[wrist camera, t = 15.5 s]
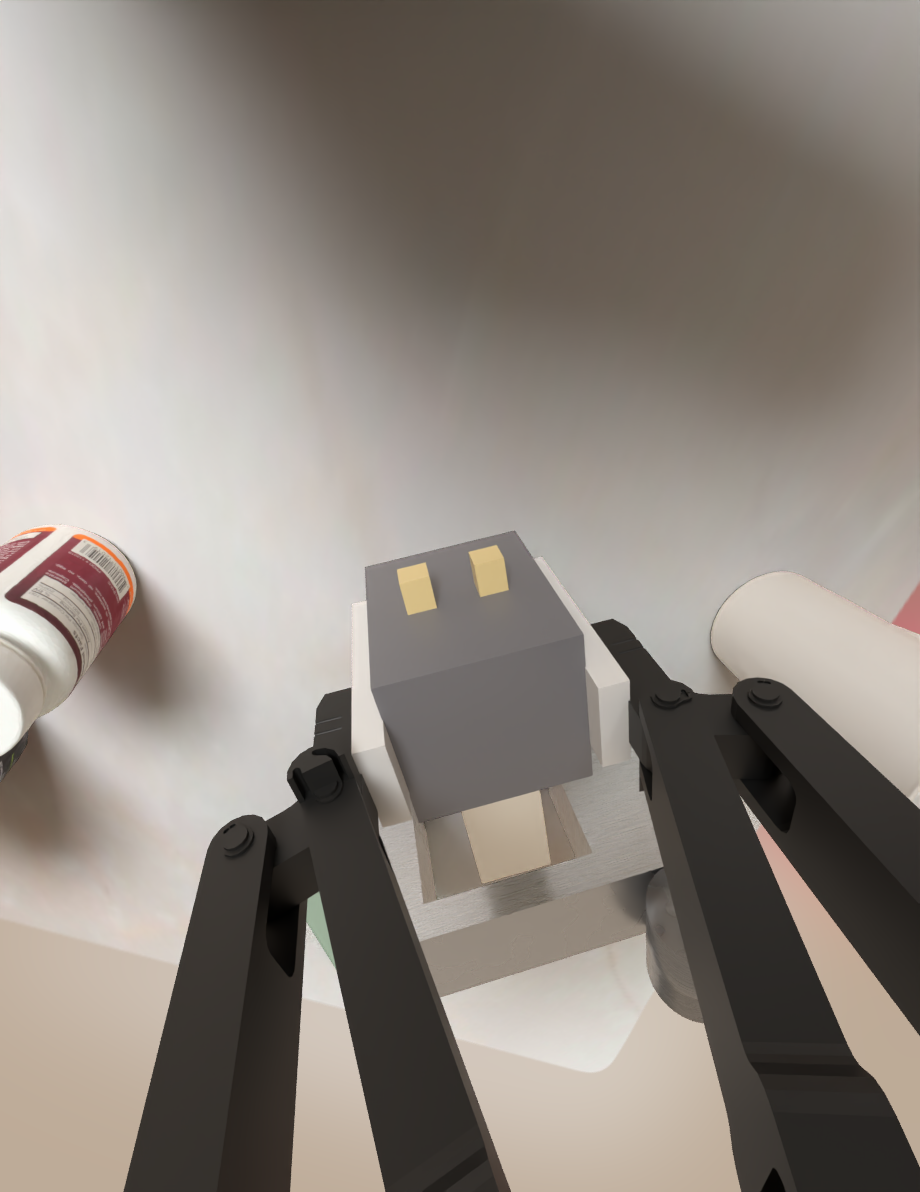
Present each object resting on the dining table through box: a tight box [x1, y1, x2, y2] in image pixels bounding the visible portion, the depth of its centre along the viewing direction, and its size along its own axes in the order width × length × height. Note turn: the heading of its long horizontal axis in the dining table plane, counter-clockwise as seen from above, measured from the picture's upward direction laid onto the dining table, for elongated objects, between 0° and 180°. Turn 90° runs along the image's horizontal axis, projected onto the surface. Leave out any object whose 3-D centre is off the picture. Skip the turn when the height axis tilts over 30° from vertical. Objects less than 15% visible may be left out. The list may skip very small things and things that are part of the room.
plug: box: [365, 531, 593, 884], centre depth 18 cm, size 15×5×6 cm, turn 11°
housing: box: [378, 746, 704, 1023], centre depth 26 cm, size 5×16×13 cm, turn 101°
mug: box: [711, 571, 920, 809], centre depth 24 cm, size 10×7×12 cm, turn 94°
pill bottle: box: [0, 524, 136, 756], centre depth 18 cm, size 5×5×8 cm
